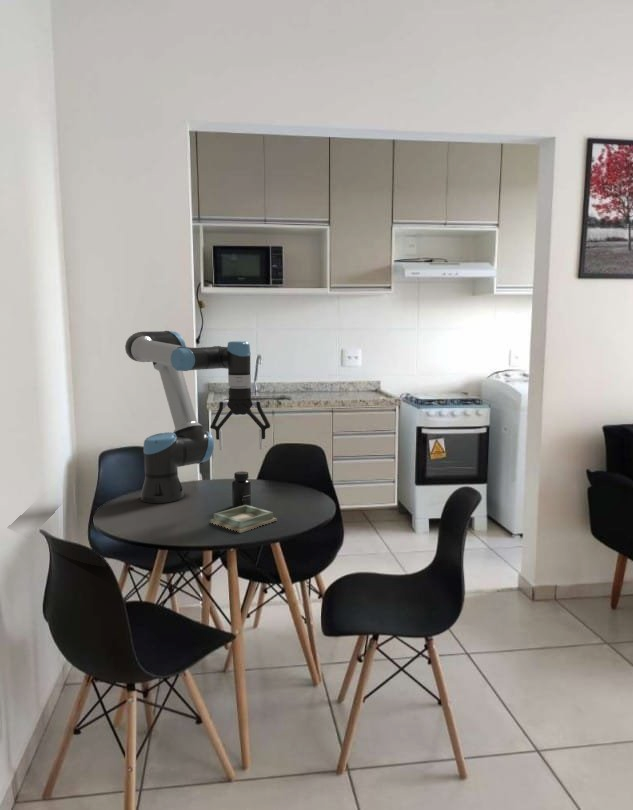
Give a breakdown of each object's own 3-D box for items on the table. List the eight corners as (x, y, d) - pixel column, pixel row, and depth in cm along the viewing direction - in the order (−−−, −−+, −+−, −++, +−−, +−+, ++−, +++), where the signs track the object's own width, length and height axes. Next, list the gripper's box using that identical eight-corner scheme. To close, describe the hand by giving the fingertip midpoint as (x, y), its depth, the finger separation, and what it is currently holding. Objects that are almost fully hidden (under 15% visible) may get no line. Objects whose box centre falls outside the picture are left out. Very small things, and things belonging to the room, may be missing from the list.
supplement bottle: (248, 509, 211) (247, 475, 209) (229, 509, 212) (228, 474, 211) (254, 504, 218) (253, 470, 216) (235, 503, 219) (234, 470, 217)
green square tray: (210, 522, 197) (209, 513, 197) (246, 512, 208) (246, 503, 208) (240, 533, 187) (240, 523, 187) (276, 521, 198) (276, 512, 197)
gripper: (201, 388, 205) (202, 451, 208) (276, 388, 206) (277, 450, 209) (204, 386, 213) (206, 446, 216) (276, 385, 214) (277, 446, 216)
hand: (241, 448), depth 212 cm, fingers open, 13 cm apart
